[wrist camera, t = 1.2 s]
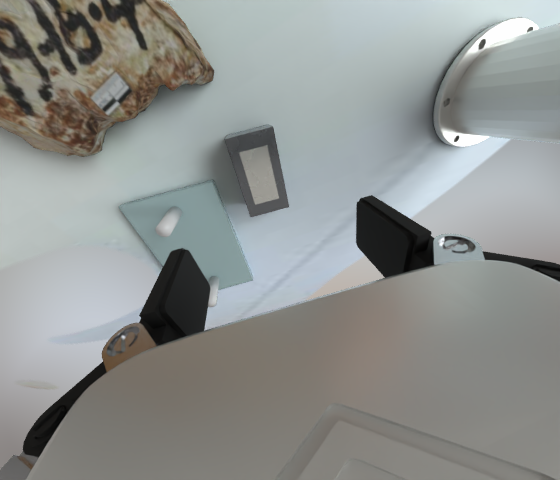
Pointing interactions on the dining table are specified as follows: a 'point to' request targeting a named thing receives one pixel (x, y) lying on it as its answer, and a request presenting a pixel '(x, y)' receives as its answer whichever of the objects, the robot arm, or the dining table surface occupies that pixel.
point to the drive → (258, 169)
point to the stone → (88, 67)
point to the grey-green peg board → (192, 232)
